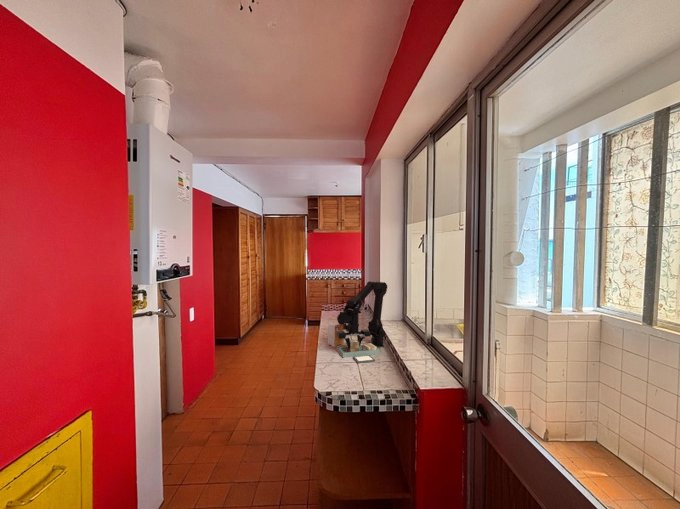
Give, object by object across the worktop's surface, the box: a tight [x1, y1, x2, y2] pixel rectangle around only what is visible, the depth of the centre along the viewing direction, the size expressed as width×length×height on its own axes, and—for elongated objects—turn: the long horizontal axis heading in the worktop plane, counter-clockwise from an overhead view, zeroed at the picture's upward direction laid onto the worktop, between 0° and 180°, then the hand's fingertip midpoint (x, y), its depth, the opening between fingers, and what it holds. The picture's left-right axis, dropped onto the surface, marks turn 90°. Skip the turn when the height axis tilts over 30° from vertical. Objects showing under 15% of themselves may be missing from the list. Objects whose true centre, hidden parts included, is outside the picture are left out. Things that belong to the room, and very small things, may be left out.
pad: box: [352, 355, 376, 364], centre depth 165 cm, size 10×8×1 cm
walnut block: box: [347, 339, 360, 352], centre depth 176 cm, size 5×5×6 cm
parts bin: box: [337, 344, 380, 358], centre depth 177 cm, size 22×11×2 cm, turn 106°
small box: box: [327, 321, 345, 347], centre depth 193 cm, size 8×6×13 cm
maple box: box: [362, 342, 377, 351], centre depth 179 cm, size 5×7×4 cm
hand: (353, 348), depth 176 cm, fingers closed on walnut block, 5 cm apart
